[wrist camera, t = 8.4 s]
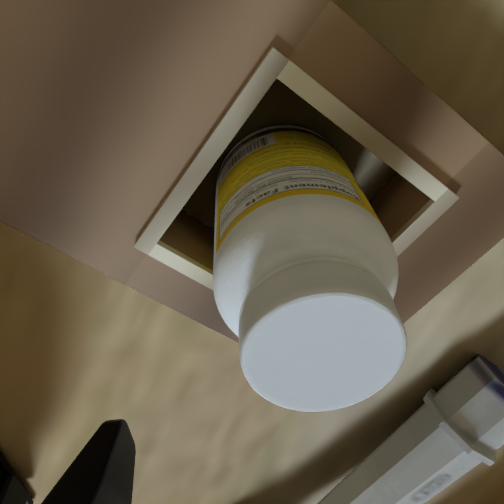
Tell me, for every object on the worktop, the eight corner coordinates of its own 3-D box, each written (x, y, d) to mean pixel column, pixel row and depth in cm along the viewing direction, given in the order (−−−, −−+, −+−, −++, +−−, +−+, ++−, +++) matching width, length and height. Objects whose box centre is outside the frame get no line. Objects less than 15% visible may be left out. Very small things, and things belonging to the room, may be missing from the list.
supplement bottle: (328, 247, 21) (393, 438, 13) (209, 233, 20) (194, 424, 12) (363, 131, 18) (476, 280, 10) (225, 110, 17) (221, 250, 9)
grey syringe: (566, 432, 23) (261, 674, 30) (488, 348, 29) (249, 567, 36) (503, 391, 21) (194, 659, 28) (434, 310, 27) (193, 549, 34)
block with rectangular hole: (-91, 118, 17) (-154, 149, 14) (38, -254, 12) (-19, -318, 9) (317, 342, 24) (329, 393, 21) (507, 165, 19) (555, 201, 16)
